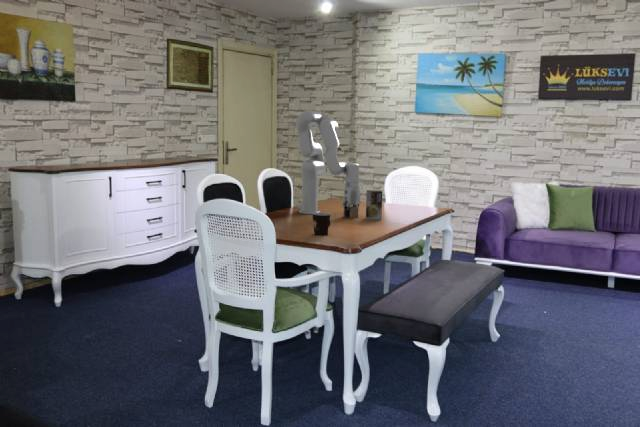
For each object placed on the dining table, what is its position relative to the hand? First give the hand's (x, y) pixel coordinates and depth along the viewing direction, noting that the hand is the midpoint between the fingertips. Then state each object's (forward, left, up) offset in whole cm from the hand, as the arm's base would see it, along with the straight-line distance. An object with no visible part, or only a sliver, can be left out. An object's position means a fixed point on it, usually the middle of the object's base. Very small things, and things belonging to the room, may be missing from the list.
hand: (350, 215), depth 344 cm
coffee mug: (+30, -55, -1) cm, 63 cm away
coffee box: (+12, +6, -1) cm, 13 cm away
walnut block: (0, 0, -1) cm, 1 cm away
